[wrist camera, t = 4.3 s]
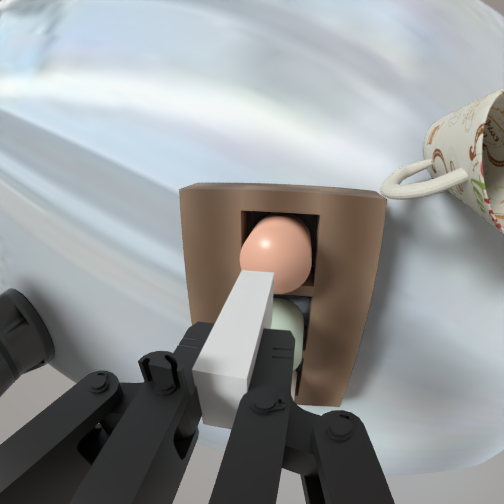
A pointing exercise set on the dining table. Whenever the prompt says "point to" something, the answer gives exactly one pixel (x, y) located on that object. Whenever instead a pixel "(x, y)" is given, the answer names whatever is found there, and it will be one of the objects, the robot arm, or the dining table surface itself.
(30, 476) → the robot arm
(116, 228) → the dining table surface
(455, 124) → the mug
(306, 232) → the button terracotta
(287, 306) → the button sage
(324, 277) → the button panel
